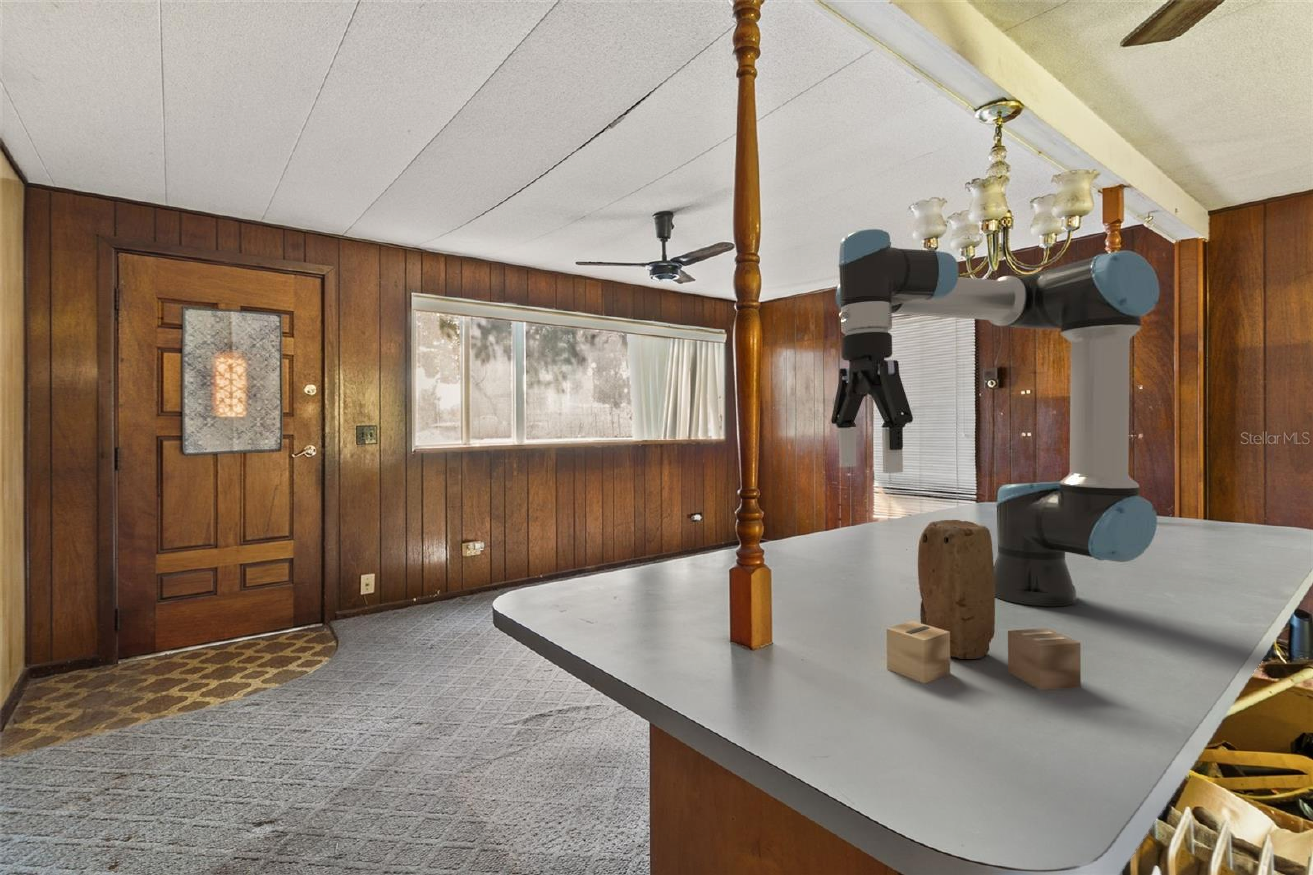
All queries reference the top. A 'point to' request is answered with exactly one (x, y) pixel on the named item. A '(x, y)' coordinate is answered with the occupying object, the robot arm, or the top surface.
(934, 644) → the cube one stripe
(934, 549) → the block
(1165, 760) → the top surface
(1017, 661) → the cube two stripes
